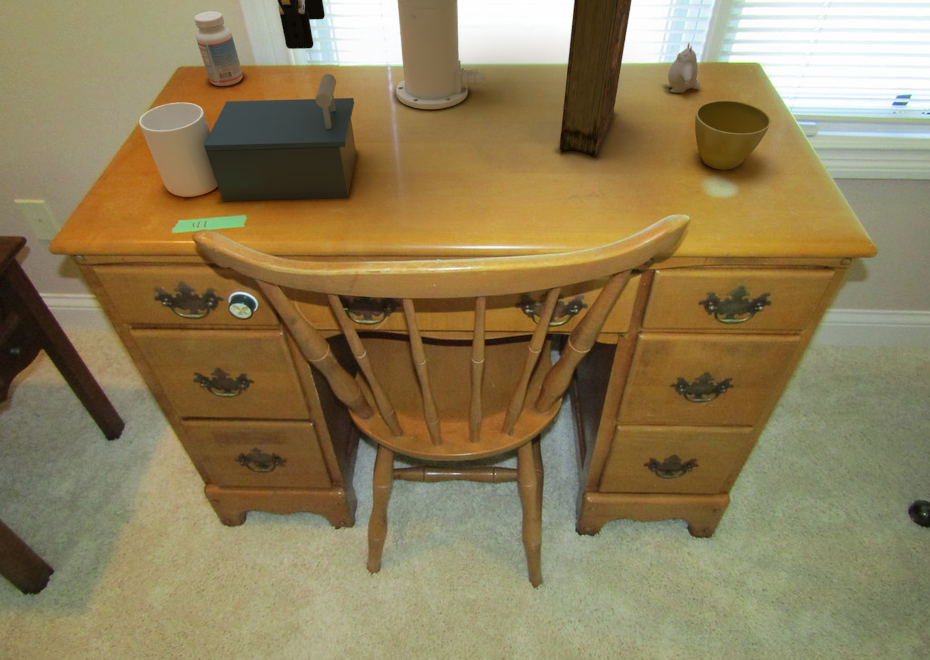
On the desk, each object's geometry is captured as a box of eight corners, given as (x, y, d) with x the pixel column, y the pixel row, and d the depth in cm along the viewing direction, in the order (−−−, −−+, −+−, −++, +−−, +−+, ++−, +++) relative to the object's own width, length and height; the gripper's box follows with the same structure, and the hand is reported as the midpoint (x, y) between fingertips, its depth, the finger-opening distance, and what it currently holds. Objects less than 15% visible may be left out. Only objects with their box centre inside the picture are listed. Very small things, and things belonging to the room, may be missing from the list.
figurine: (660, 80, 114) (670, 35, 108) (693, 79, 114) (704, 34, 108) (670, 100, 108) (681, 54, 103) (705, 99, 108) (717, 53, 103)
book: (582, 106, 107) (603, -62, 89) (614, 111, 106) (642, -59, 88) (558, 154, 96) (576, -27, 79) (594, 160, 95) (621, -23, 77)
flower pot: (692, 179, 91) (704, 133, 86) (678, 143, 98) (689, 99, 93) (763, 180, 91) (780, 134, 85) (744, 144, 98) (759, 100, 92)
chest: (356, 151, 98) (348, 103, 92) (348, 197, 89) (339, 147, 83) (242, 155, 98) (227, 106, 92) (222, 201, 89) (205, 151, 83)
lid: (354, 103, 92) (348, 63, 88) (345, 146, 83) (338, 104, 79) (227, 106, 92) (216, 66, 88) (205, 150, 83) (191, 108, 79)
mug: (180, 156, 97) (156, 91, 90) (234, 153, 98) (214, 88, 90) (159, 200, 89) (130, 132, 82) (218, 197, 89) (195, 129, 82)
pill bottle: (248, 73, 118) (231, 9, 110) (236, 87, 114) (218, 22, 106) (217, 72, 119) (198, 9, 111) (204, 86, 115) (184, 21, 107)
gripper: (298, -118, 61) (327, 59, 74) (323, -149, 74) (344, 8, 86) (221, -117, 61) (262, 60, 73) (259, -148, 74) (289, 9, 86)
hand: (306, 32), depth 80 cm, fingers open, 9 cm apart
